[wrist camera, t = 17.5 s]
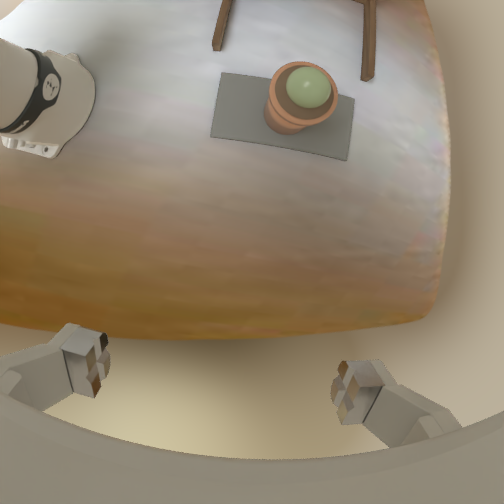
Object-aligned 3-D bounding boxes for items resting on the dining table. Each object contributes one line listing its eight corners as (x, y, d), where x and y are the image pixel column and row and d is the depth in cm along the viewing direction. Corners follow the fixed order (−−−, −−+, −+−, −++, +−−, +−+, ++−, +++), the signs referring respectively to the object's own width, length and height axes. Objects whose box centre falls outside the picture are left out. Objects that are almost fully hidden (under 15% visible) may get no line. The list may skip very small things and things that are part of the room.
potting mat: (210, 137, 39) (210, 136, 38) (222, 74, 36) (221, 72, 35) (344, 160, 40) (346, 160, 40) (352, 100, 38) (354, 98, 37)
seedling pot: (257, 133, 38) (269, 108, 23) (264, 86, 36) (280, 40, 21) (307, 142, 39) (346, 125, 23) (313, 96, 37) (353, 59, 22)
